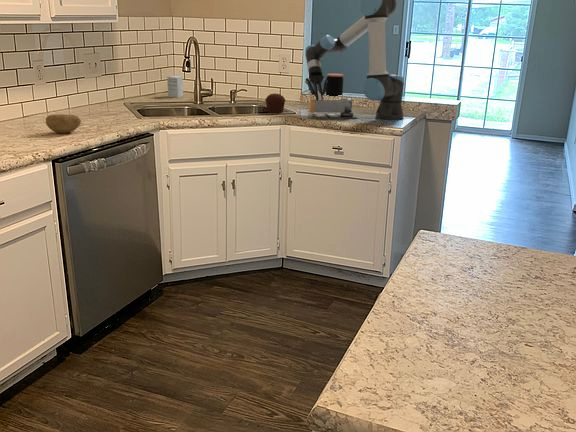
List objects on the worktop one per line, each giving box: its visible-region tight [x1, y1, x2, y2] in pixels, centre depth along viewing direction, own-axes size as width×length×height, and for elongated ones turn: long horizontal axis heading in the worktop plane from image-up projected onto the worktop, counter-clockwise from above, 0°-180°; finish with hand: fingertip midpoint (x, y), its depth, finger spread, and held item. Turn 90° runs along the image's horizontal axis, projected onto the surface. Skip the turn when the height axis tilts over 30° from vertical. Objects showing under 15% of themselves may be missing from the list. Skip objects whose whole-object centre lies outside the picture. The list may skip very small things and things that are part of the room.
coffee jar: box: [325, 73, 344, 96], centre depth 362 cm, size 11×11×18 cm
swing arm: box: [308, 97, 354, 114], centre depth 310 cm, size 23×5×7 cm, turn 101°
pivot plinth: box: [337, 112, 358, 120], centre depth 314 cm, size 9×9×3 cm
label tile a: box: [324, 113, 341, 120], centre depth 312 cm, size 6×10×1 cm, turn 11°
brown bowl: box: [45, 113, 82, 134], centre depth 246 cm, size 10×14×8 cm
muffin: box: [264, 93, 286, 114], centre depth 322 cm, size 12×11×10 cm
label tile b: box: [311, 113, 329, 120], centre depth 311 cm, size 6×10×1 cm, turn 11°
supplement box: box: [166, 75, 184, 99], centre depth 367 cm, size 7×7×13 cm
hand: (320, 104), depth 314 cm, fingers closed
